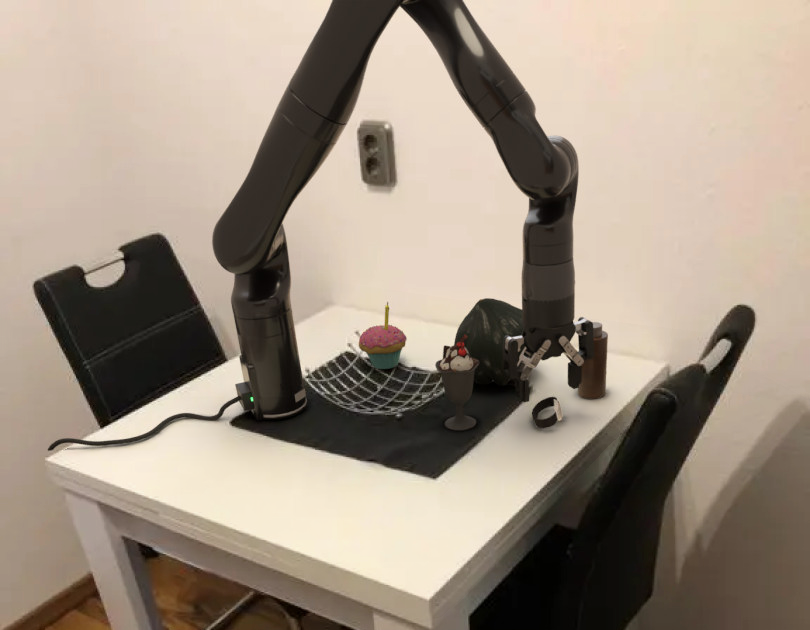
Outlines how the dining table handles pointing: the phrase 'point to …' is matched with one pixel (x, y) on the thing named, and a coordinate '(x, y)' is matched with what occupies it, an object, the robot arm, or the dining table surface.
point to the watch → (543, 405)
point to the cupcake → (383, 344)
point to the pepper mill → (595, 367)
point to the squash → (490, 337)
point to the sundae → (458, 382)
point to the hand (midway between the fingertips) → (548, 393)
